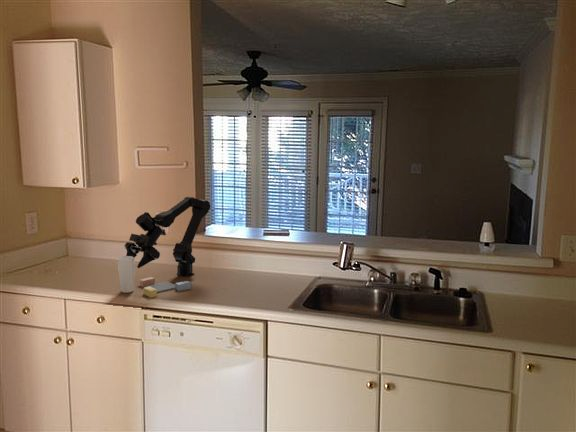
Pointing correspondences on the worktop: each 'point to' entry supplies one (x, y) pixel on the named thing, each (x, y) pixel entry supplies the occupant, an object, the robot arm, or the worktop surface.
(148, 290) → the brick mustard
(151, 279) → the brick terracotta
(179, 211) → the robot arm
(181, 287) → the brick slate blue
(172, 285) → the slate coaster
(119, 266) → the drinking glass
